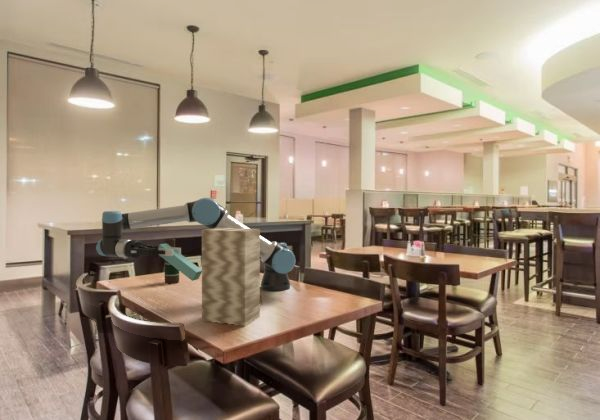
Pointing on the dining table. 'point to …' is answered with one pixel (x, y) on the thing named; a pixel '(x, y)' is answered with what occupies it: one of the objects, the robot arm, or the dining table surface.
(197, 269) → the bar
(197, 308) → the dining table surface
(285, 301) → the dining table surface
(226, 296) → the tall wood-grain block
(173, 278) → the beer bottle
